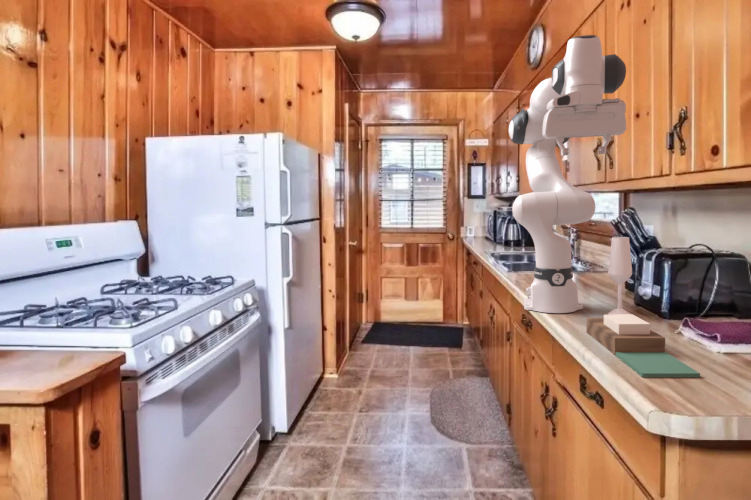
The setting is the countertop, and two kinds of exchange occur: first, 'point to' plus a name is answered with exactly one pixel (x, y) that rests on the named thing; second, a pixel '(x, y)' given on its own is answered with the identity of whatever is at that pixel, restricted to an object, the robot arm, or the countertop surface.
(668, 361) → the mat
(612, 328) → the cream block
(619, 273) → the champagne flute
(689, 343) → the countertop surface
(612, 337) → the brown striped block
